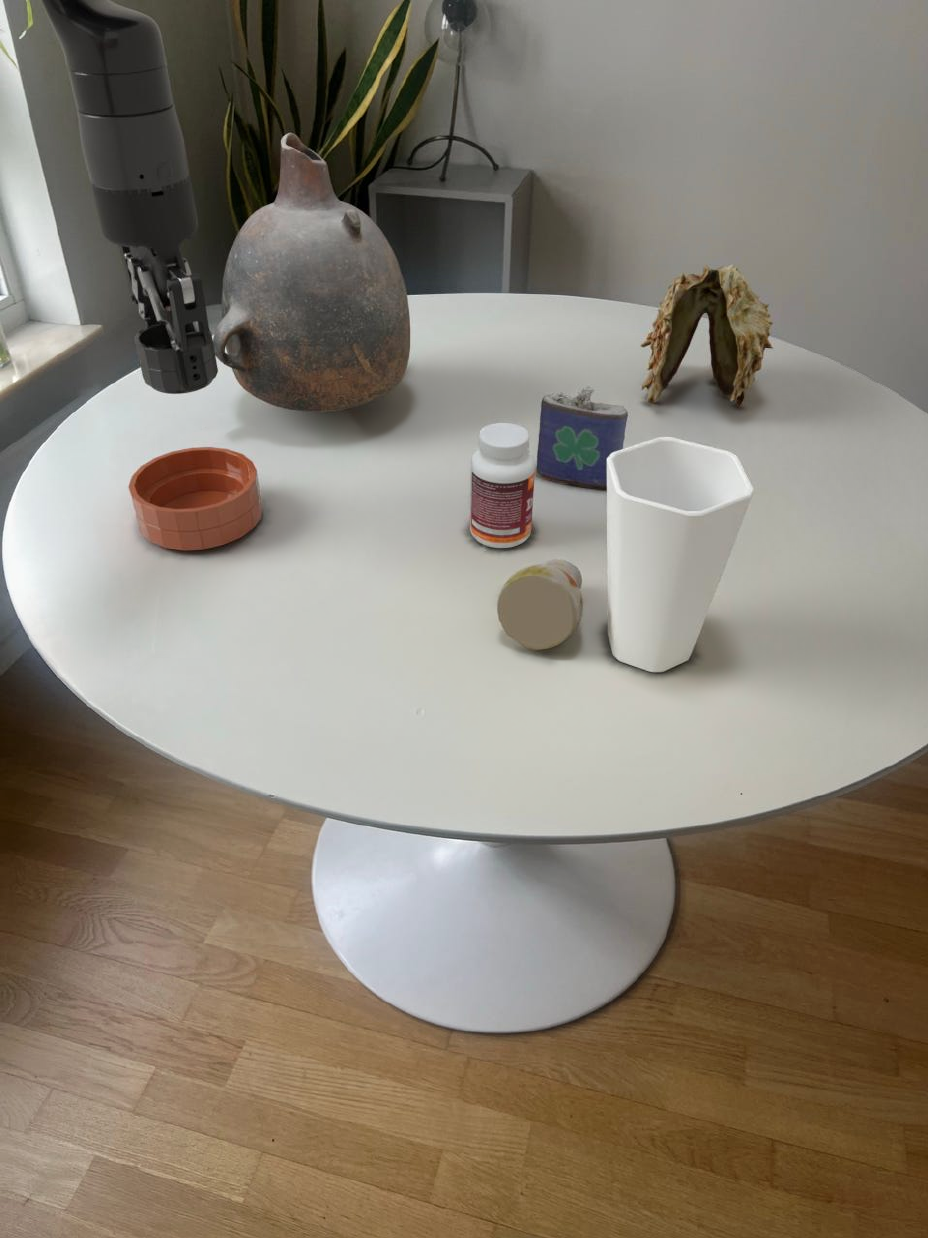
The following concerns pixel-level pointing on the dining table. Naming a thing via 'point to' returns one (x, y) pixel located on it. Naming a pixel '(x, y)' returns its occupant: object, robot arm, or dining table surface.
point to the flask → (578, 438)
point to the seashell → (710, 331)
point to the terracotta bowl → (196, 498)
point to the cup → (668, 544)
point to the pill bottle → (502, 486)
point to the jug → (313, 297)
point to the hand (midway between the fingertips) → (180, 371)
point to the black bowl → (167, 359)
